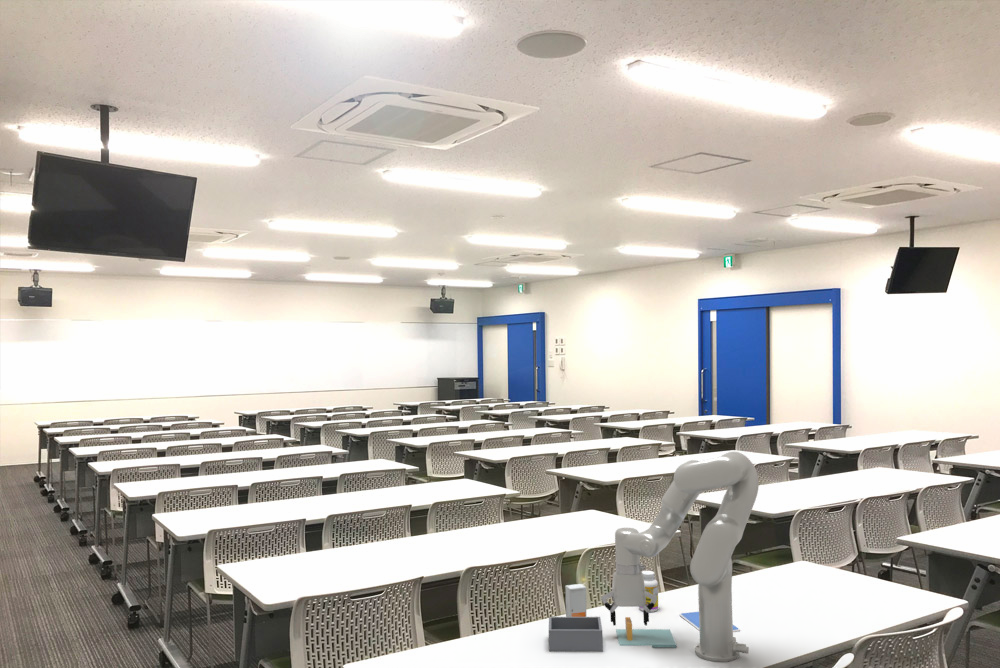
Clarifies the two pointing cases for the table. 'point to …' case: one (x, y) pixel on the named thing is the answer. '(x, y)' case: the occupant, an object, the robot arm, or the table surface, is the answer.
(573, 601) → the skincare box
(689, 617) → the tablet computer
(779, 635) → the table surface
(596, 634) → the tub
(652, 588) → the supplement bottle
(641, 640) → the lid
